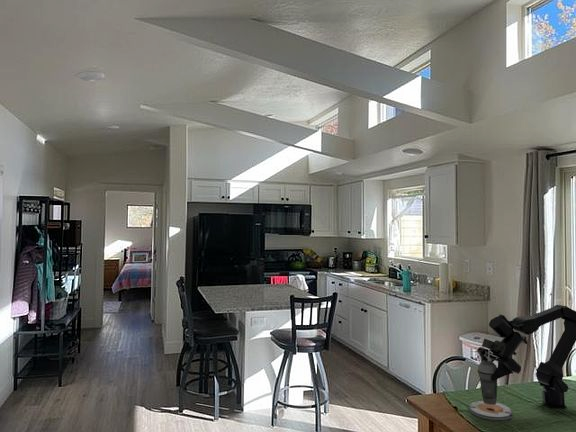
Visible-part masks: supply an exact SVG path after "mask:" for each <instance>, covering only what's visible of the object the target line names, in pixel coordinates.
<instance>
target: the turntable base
mask: <svg viewBox="0 0 576 432" xmlns="http://www.w3.org/2000/svg"><path fill="white" fill-rule="evenodd" d="M468 411H469V413H470V414H471V415H472V416H474V417H476V418H479V419H481V418H482V420H485V419H487V420H486V421H490V420H492V421H491V422H506V421H509V420H511V419H513V417H514V414H513V411H512V410H511V415H510V416H508V417H505V418H490V417H485V416H481V415H479V414H476V413H474V412H473V411H472V410H471V409H470V405H469V406H468Z"/></svg>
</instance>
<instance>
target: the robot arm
mask: <svg viewBox="0 0 576 432" xmlns="http://www.w3.org/2000/svg"><path fill="white" fill-rule="evenodd" d="M558 319H562V320H563V329H564V330H563V331H562V334H561V336H560V338H559V340H558V342H557V344H556V346H555V348H554V349H553V351H552V354H551V355H550V357H549V359H548V361H546V362H543V361H541V362H539V364H538V366H537V368H536V369H535V371H536V372H535V376H536V380H537V381H538V383H539V386H540V387H543V390H542V391H541V394H542V403H544V405H545V406H546V407H548V408H557V409H558V408H559V409H568V408H567V407H568V406H567V405H566V402H565V393H567V392H568V389H569V386H568V384H567V383H566V382H564V380H563V379H564V371H563V367H564V365H565V363H566V361H567V359H568V357H569V355H570V354H571V352H572V350H573V347H574V346H575V344H576V310H574V309H572V308H570V307H568V306H566V305H561V304H555V305H554V306H552V307H550V308H547V309H544V310H542V311H539V312H537V313H534V314H531V315H523V316H522V315H521V316H517V317H514V318H513V319H512V320H508V318H507V317H506V316H505V315H504V314H499V315H498V316H495V317H494V318H492V319H490V321H489V323H488V326H489V328H490V329H492V330H493V332H494V333H495V334H496V335H497V336H499V337H500V338H502V339H501V340H495V341H492V340H490V339H487V338H483V341H482V344H481V346H479V347H478V348H477V350H476V352H477V353H478V355H479V356H480V363H481V362H482V361H484V360H488V349H489V350H490V361H492V362H493V363H494V361H495V362H497V369H496V370H495V372H494V374H493V375H492V377H491V380H492V381H494V380H497V381H498V379H499V380H500V379H501V378H502V377H506V376H508V375H511V374H514V373H515V374H517V375H519V374H520V372H521V371H522V366H521V365H520V364H519V363H518V362H517V361H516V360H515V359H514V358H512V356H516V355H517V352H516V350H518V348H519V347H520V345H521V344H525V345H528V343H529V342H528V340H527V336H528V335H532V334H534V333H536V332H537V331H538V330H539V328H540V327H541V326H544V325H547V324H549V323H551V322H553V321H556V320H558ZM522 334H524V335H527V336H524V335H522Z"/></svg>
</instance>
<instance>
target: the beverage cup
mask: <svg viewBox="0 0 576 432" xmlns="http://www.w3.org/2000/svg"><path fill="white" fill-rule="evenodd" d="M487 349H488V348H487ZM490 352H491V351H490V349H488V360H484V361H482V362H481V361H480V363H479V364H478V367H477V374H478V378H479V382H480V390H481V396H482V401H483V402H484V403H485V404H489V405H495V404H496V403H497V399H498V379H497V380H494V381H492V380H491V377H492V375H493V374H494V372H495V370H496V369H497V367H498V365H496V364H495V363H494V362H492V361H490Z"/></svg>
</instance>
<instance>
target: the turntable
mask: <svg viewBox="0 0 576 432" xmlns="http://www.w3.org/2000/svg"><path fill="white" fill-rule="evenodd" d="M469 406H470V409H471V410H472V411H473V412H474V413H476V414H479V415H481V416H485V417H490V418H505V417H508V416H510V415H511V411H512V410H511V408H510V407H509V406H507V405H505V404H502V403H499V402H496V404H495V405H489V404H485V403H484V402H483V400H478V401H473V402H471V403H470V404H469Z"/></svg>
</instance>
